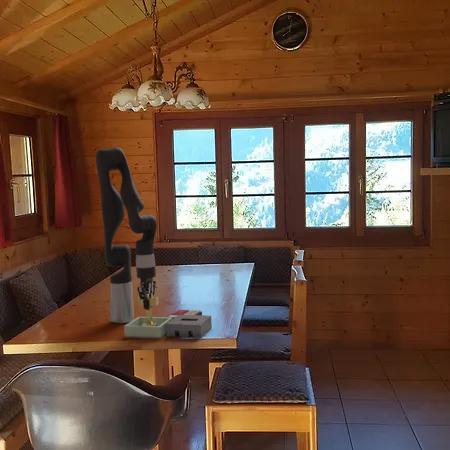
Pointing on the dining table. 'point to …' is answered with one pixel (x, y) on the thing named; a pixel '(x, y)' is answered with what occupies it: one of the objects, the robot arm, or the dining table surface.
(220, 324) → the dining table surface
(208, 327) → the lock block
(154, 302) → the t key
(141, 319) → the tray
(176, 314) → the calculator
